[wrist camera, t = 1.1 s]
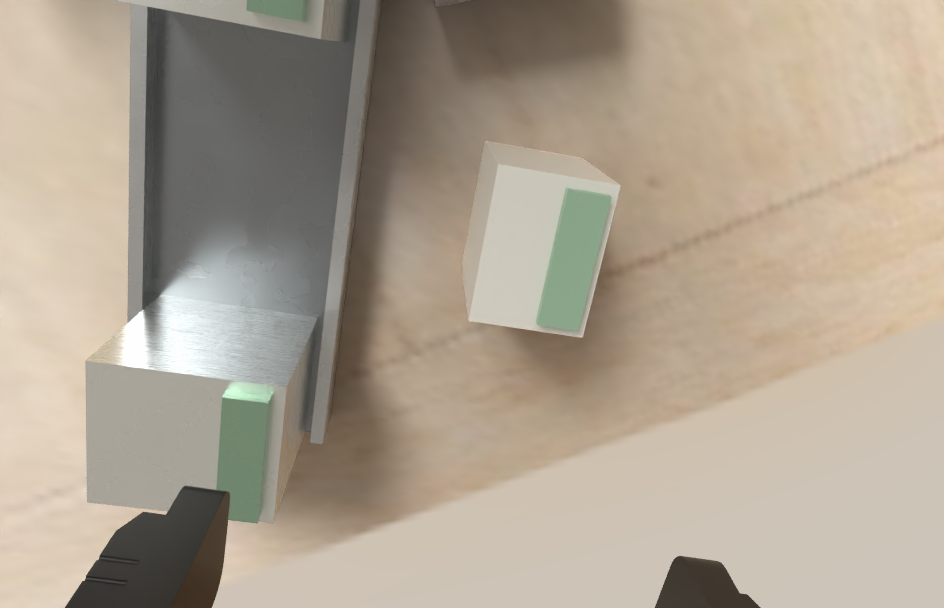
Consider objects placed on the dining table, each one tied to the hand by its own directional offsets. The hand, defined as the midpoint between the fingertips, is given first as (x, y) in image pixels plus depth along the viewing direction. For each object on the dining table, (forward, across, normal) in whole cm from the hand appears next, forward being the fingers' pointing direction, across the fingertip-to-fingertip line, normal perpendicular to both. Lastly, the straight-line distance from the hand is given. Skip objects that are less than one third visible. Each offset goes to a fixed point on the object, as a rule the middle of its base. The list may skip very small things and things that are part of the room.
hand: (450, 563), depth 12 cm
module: (+21, -3, -2) cm, 22 cm away
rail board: (+21, +9, -2) cm, 23 cm away
